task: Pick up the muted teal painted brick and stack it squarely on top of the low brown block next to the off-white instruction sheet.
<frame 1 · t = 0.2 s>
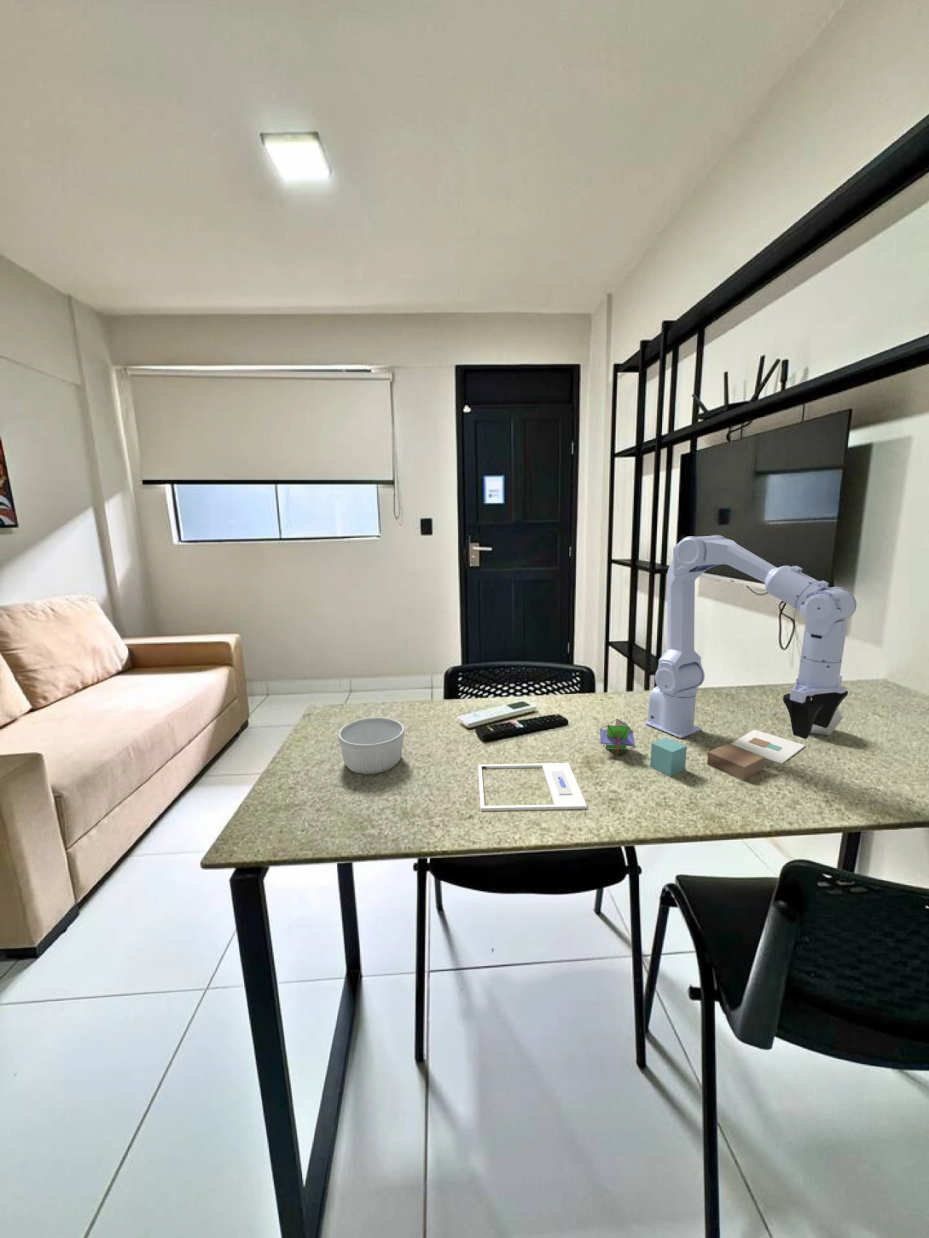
hand: (810, 731, 86), 10 cm above the table, fingers open, 7 cm apart
teal brick: (667, 768, 94), on the table
brown block: (734, 768, 94), on the table
die: (813, 731, 108), on the table
photo frame: (528, 789, 89), on the table
geometric puzzle: (616, 752, 101), on the table
instruction sheet: (766, 746, 102), on the table
ramekin: (373, 762, 99), on the table
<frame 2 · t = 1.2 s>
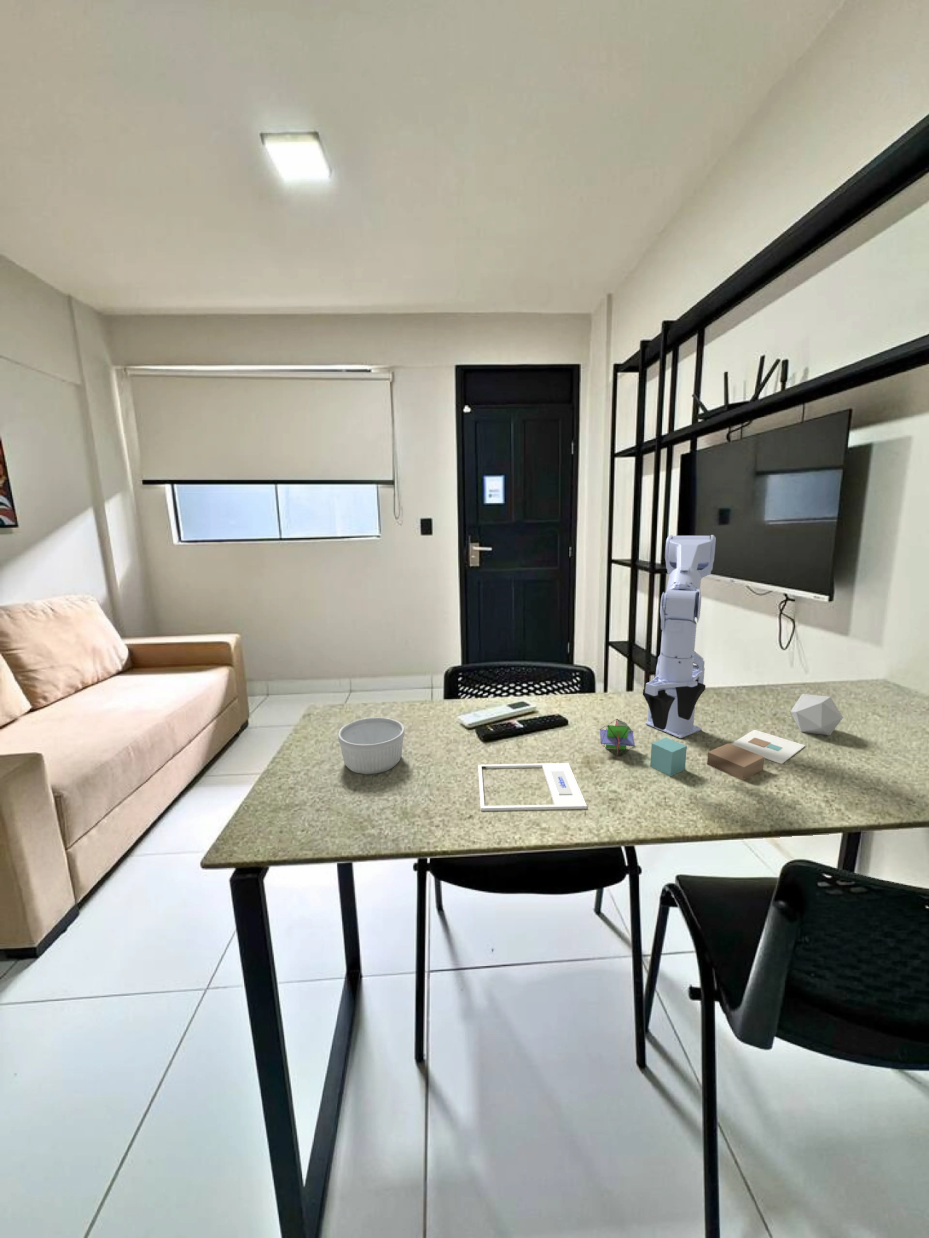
hand: (671, 722, 92), 9 cm above the table, fingers open, 7 cm apart
nothing on the table moved.
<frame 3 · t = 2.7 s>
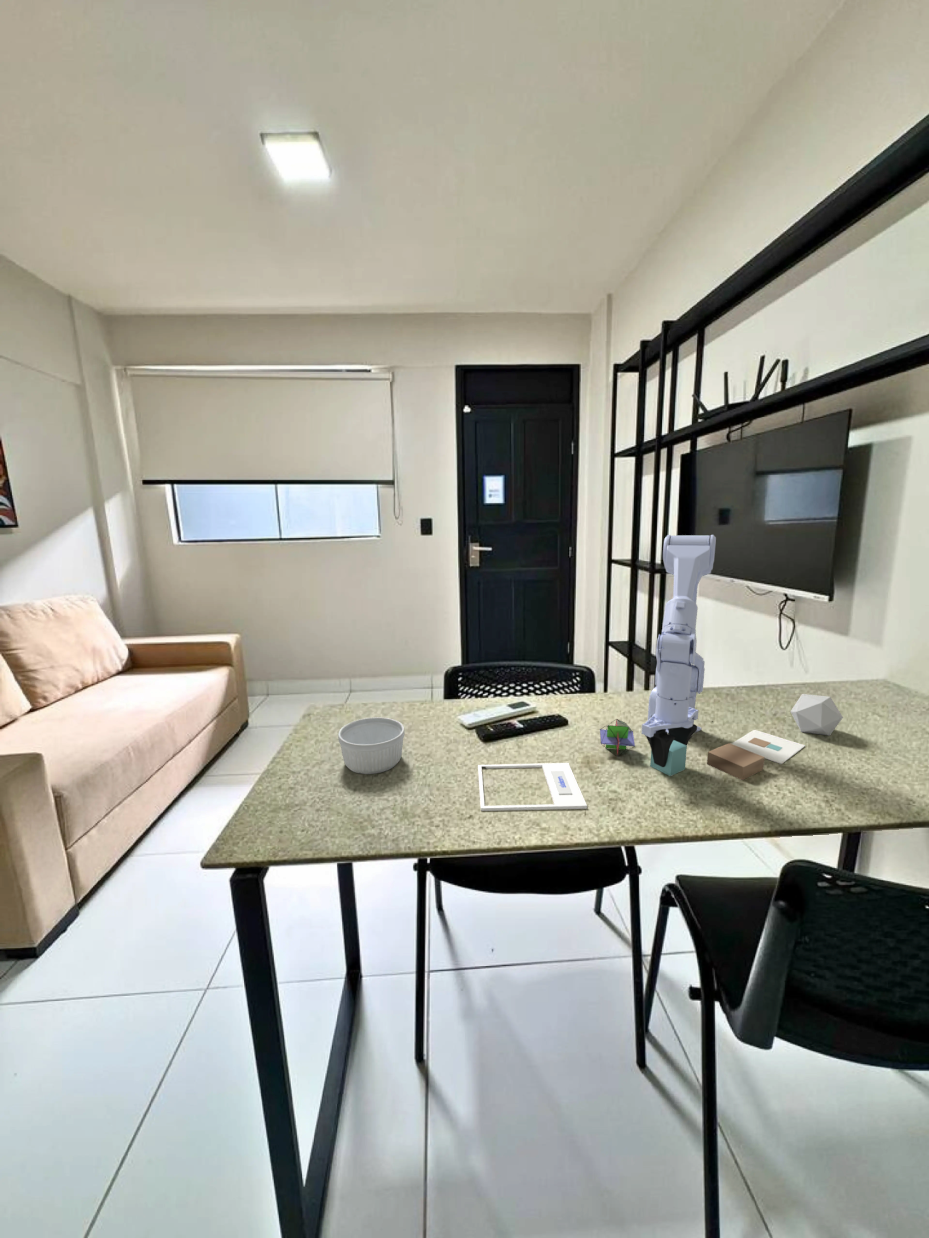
hand: (667, 761, 94), 1 cm above the table, fingers closed on teal brick, 4 cm apart
teal brick: (667, 767, 94), on the table, touching gripper
everything else where it was.
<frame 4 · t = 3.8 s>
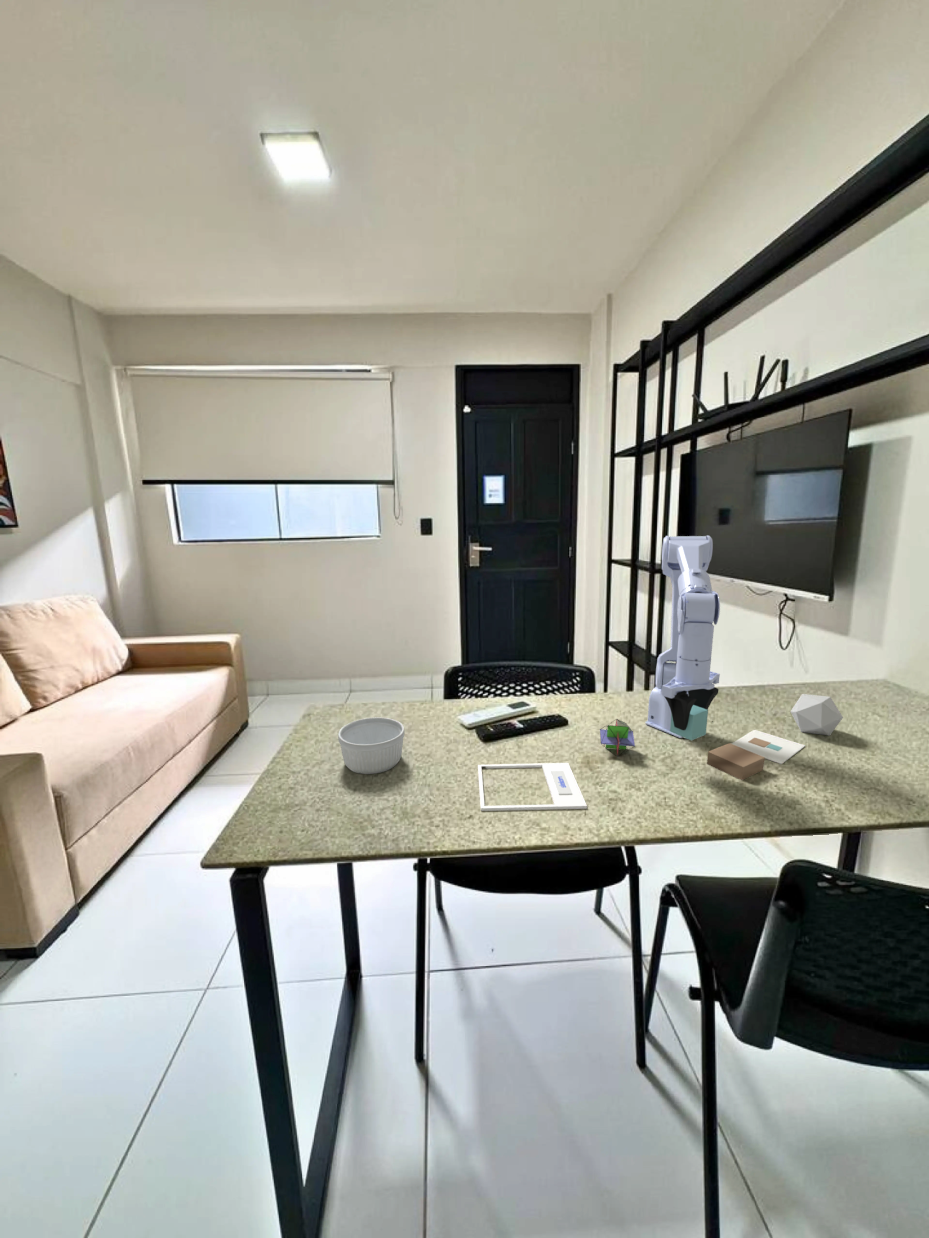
hand: (688, 725, 92), 9 cm above the table, fingers closed on teal brick, 4 cm apart
teal brick: (687, 733, 92), point 7 cm above the table, touching gripper
everything else where it was.
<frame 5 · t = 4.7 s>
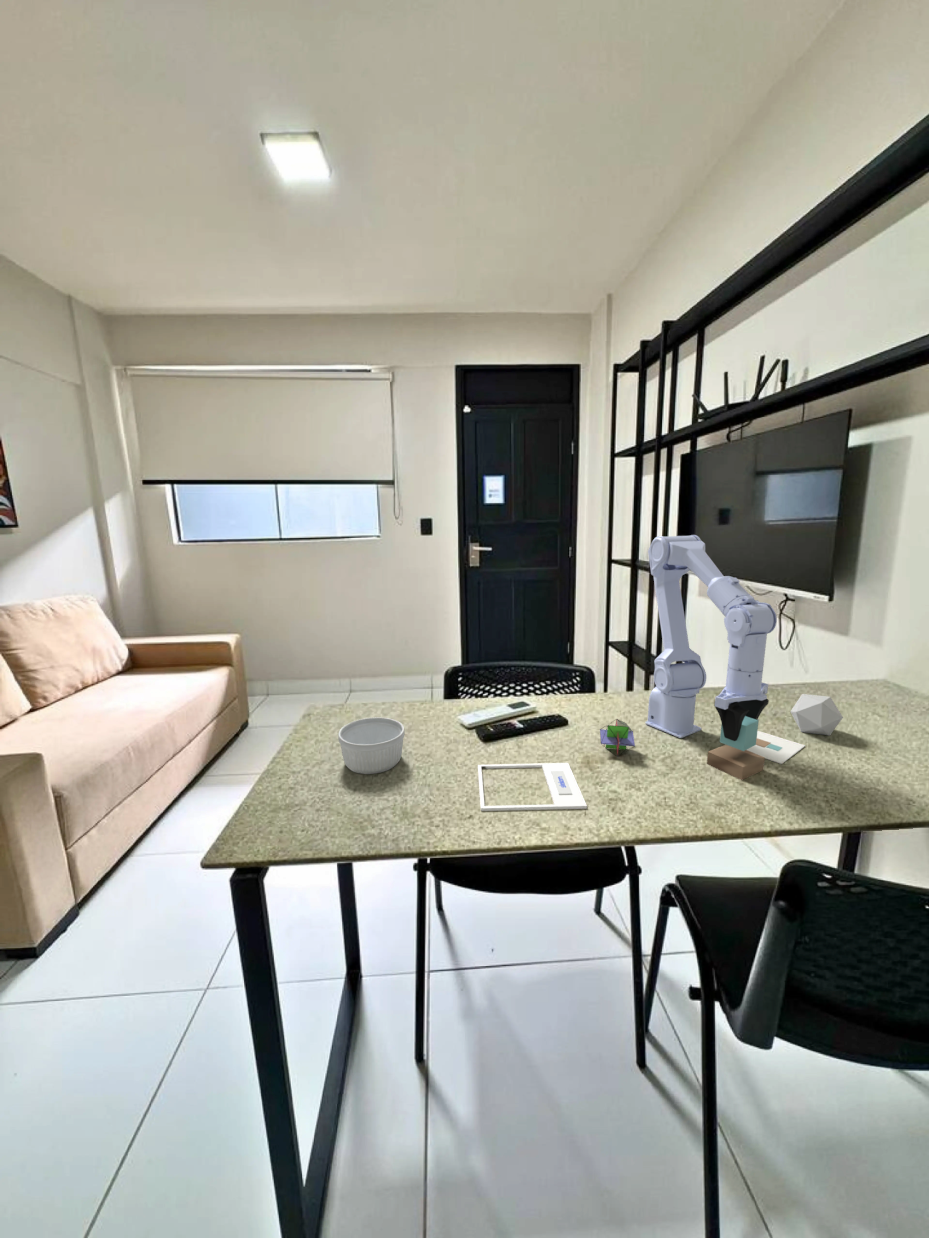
hand: (738, 735, 92), 7 cm above the table, fingers closed on teal brick, 4 cm apart
teal brick: (737, 743, 93), point 5 cm above the table, touching gripper
everything else where it was.
when the fingers open (5 cm above the table, at t = 5.4 s): teal brick drops 1 cm, resting on brown block.
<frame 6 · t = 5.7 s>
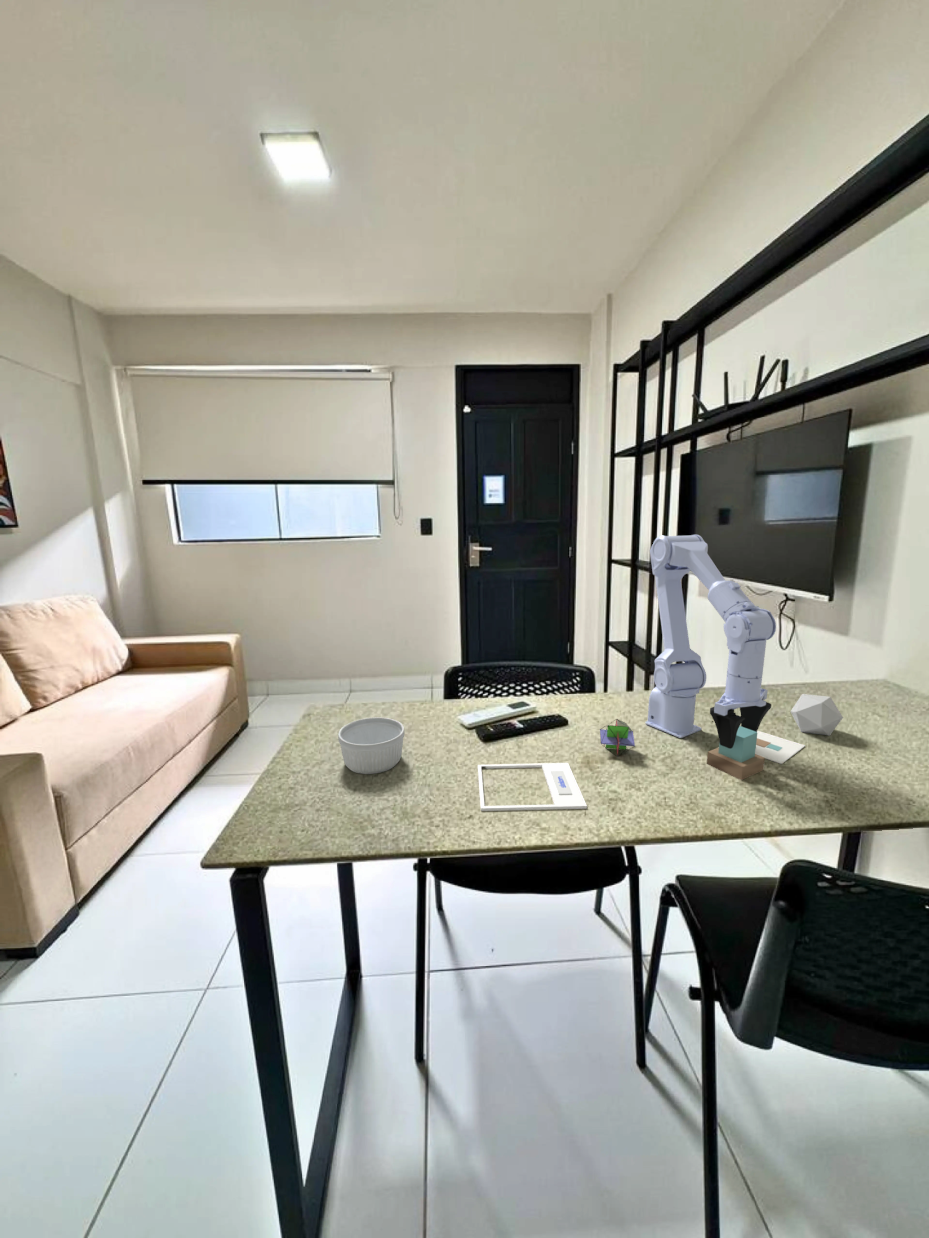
hand: (737, 741, 93), 5 cm above the table, fingers open, 7 cm apart
teal brick: (736, 754, 93), point 3 cm above the table, touching brown block
brown block: (734, 768, 94), on the table, touching teal brick
everything else where it was.
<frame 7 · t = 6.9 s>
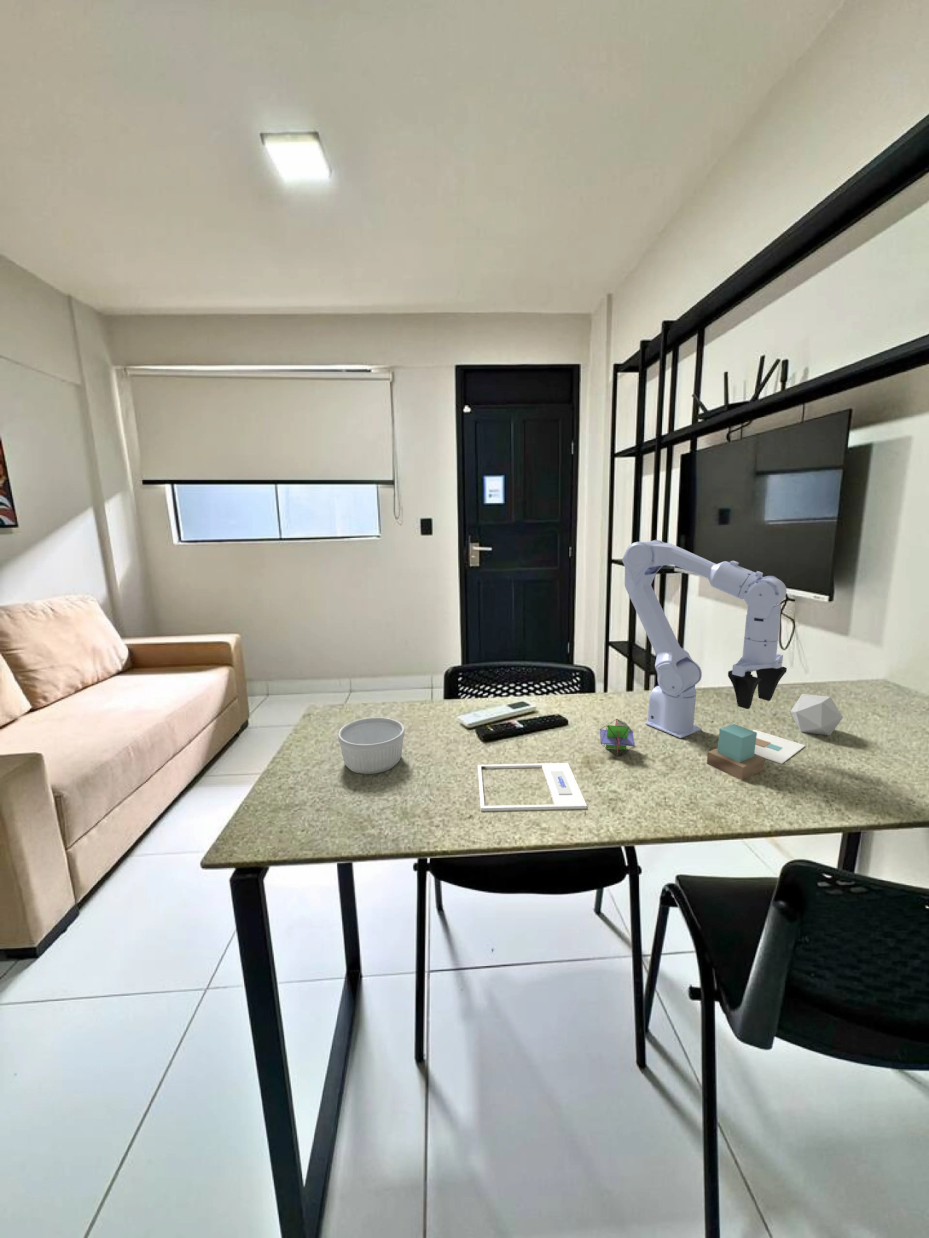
hand: (754, 703, 98), 10 cm above the table, fingers open, 7 cm apart
teal brick: (735, 754, 93), point 3 cm above the table
brown block: (734, 768, 94), on the table
everything else where it was.
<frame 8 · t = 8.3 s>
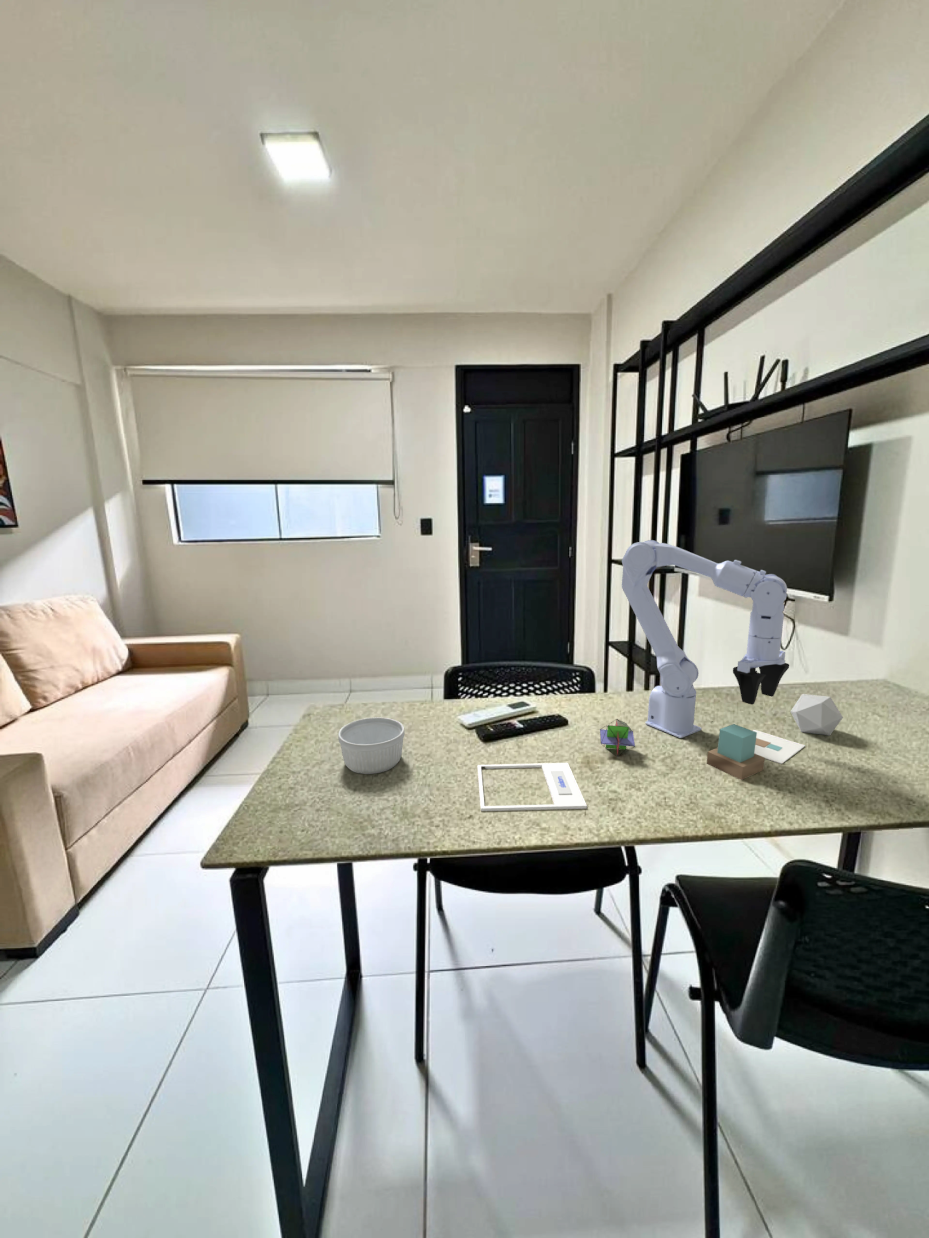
hand: (757, 698, 100), 10 cm above the table, fingers open, 7 cm apart
teal brick: (735, 754, 93), point 3 cm above the table, touching brown block
brown block: (734, 768, 94), on the table, touching teal brick
everything else where it was.
at the end: teal brick 0.0 cm off-centre on the brown block, point 3.0 cm above the brown block's base; teal brick tilted 0°; the gripper is holding nothing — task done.
